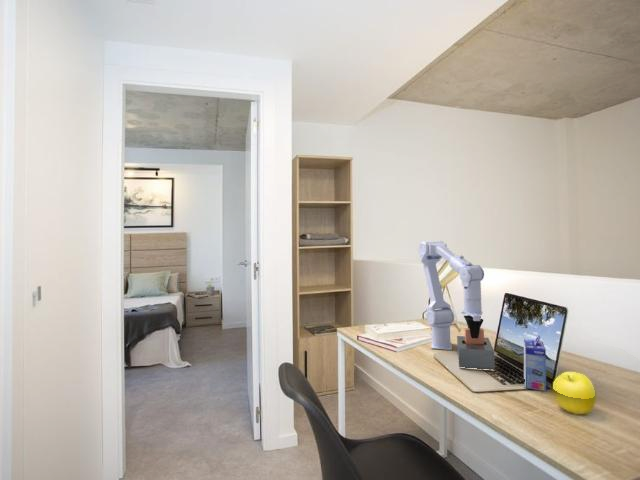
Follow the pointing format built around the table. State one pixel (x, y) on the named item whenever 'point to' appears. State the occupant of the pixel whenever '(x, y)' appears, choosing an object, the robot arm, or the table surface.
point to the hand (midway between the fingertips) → (473, 336)
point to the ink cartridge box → (535, 364)
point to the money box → (475, 354)
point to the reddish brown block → (474, 340)
